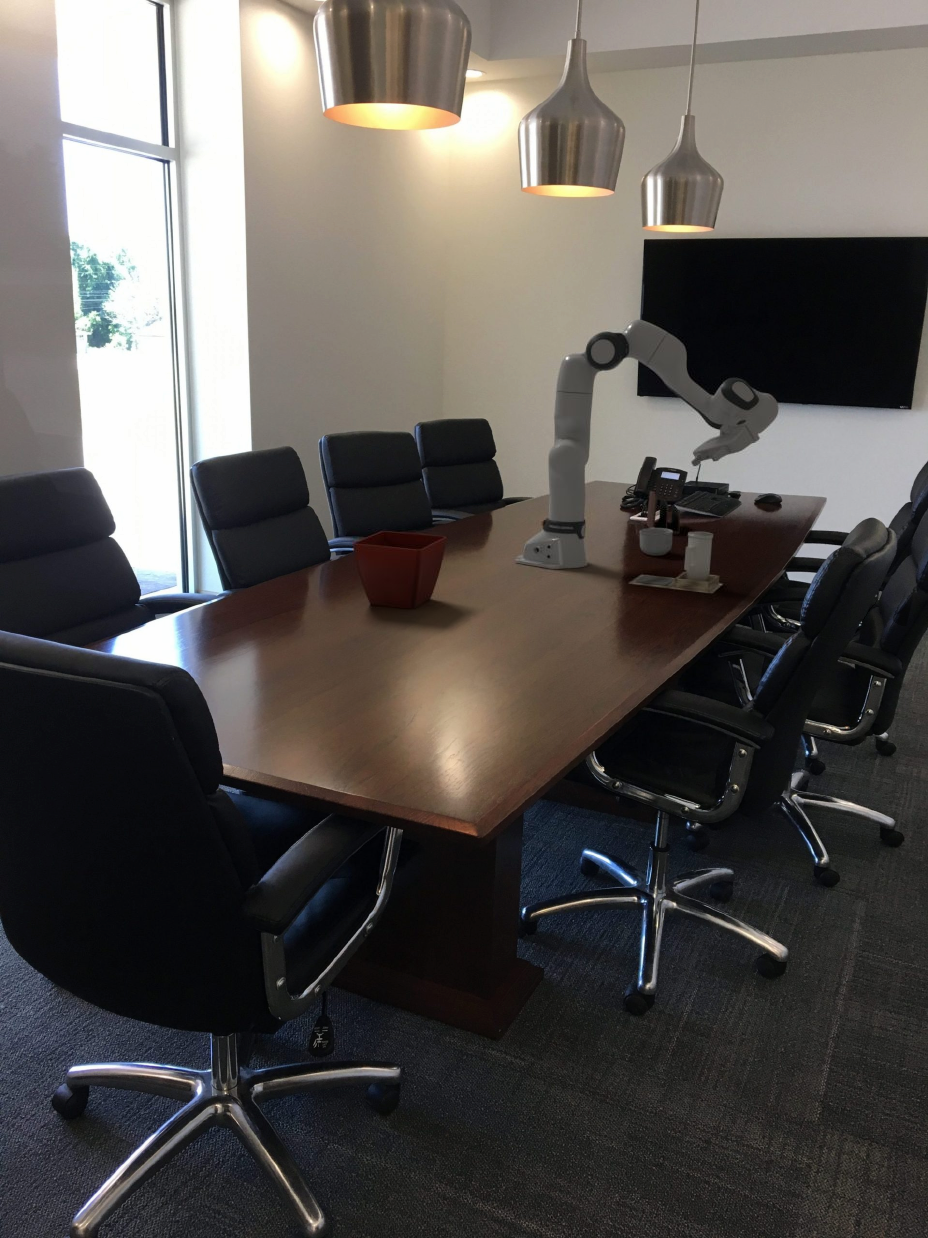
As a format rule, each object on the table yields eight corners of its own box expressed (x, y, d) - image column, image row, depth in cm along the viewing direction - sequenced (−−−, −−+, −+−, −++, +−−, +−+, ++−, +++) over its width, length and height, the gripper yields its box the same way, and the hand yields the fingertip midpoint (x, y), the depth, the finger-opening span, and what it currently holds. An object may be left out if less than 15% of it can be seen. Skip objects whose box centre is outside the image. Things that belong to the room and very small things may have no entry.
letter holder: (652, 534, 369) (654, 495, 365) (646, 524, 388) (648, 488, 384) (679, 534, 368) (682, 496, 364) (672, 525, 387) (674, 489, 384)
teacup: (671, 558, 327) (672, 533, 324) (637, 556, 329) (639, 532, 326) (671, 549, 340) (673, 526, 338) (639, 548, 342) (640, 524, 340)
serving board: (627, 587, 286) (628, 574, 285) (641, 578, 297) (641, 566, 296) (712, 597, 276) (713, 584, 275) (722, 587, 287) (723, 575, 286)
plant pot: (419, 614, 254) (420, 549, 249) (352, 606, 260) (351, 542, 256) (447, 597, 271) (447, 536, 267) (382, 590, 277) (382, 530, 273)
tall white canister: (692, 582, 288) (696, 530, 284) (713, 586, 284) (717, 533, 280) (674, 587, 281) (678, 534, 277) (695, 591, 277) (699, 538, 273)
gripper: (708, 431, 296) (676, 457, 292) (752, 418, 277) (719, 446, 273) (718, 449, 298) (687, 475, 294) (763, 437, 279) (731, 465, 275)
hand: (703, 461), depth 283 cm, fingers open, 8 cm apart
